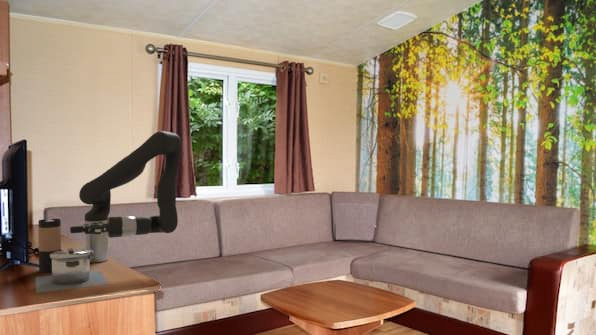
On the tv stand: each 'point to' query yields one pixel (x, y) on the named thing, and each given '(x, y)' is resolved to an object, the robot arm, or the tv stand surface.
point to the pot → (71, 270)
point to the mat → (46, 285)
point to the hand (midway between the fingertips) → (70, 229)
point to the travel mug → (48, 243)
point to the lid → (71, 253)
